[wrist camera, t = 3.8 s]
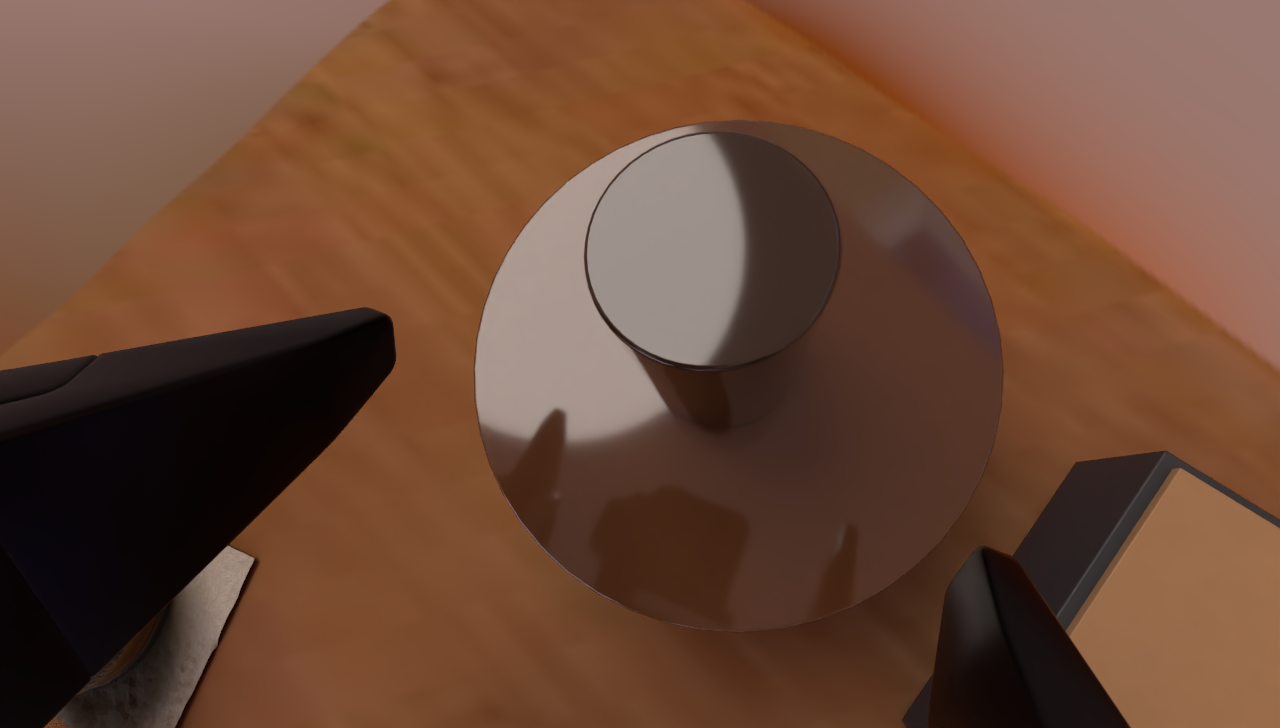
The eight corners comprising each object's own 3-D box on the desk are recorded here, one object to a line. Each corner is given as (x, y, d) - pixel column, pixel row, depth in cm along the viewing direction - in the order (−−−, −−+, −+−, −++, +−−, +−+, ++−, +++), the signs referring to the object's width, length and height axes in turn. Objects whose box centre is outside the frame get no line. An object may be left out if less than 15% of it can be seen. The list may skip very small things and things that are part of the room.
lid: (1104, 387, 14) (1473, 268, 7) (694, 740, 13) (647, 990, 6) (744, 62, 17) (748, -245, 10) (406, 343, 16) (169, 227, 10)
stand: (1412, 675, 16) (1648, 734, 12) (1228, 983, 15) (1412, 1162, 11) (1075, 461, 18) (1175, 448, 14) (900, 720, 18) (951, 786, 13)
